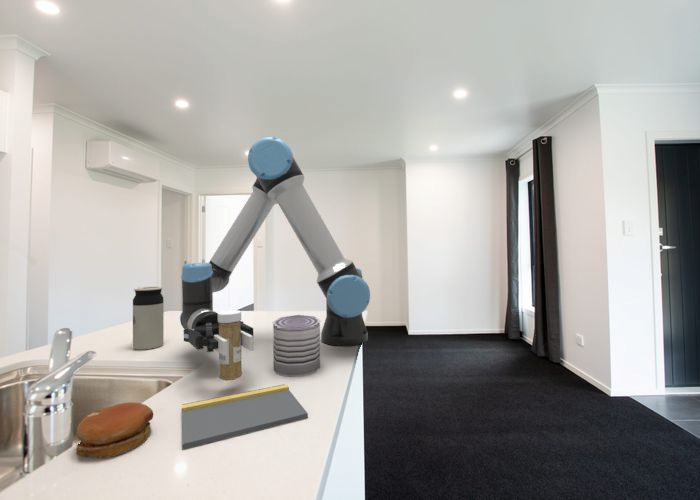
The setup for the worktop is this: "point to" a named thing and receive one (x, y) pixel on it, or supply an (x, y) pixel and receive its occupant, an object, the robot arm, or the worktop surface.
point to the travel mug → (148, 318)
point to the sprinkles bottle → (230, 344)
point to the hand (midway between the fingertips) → (238, 345)
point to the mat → (238, 414)
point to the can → (296, 345)
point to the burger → (114, 430)
